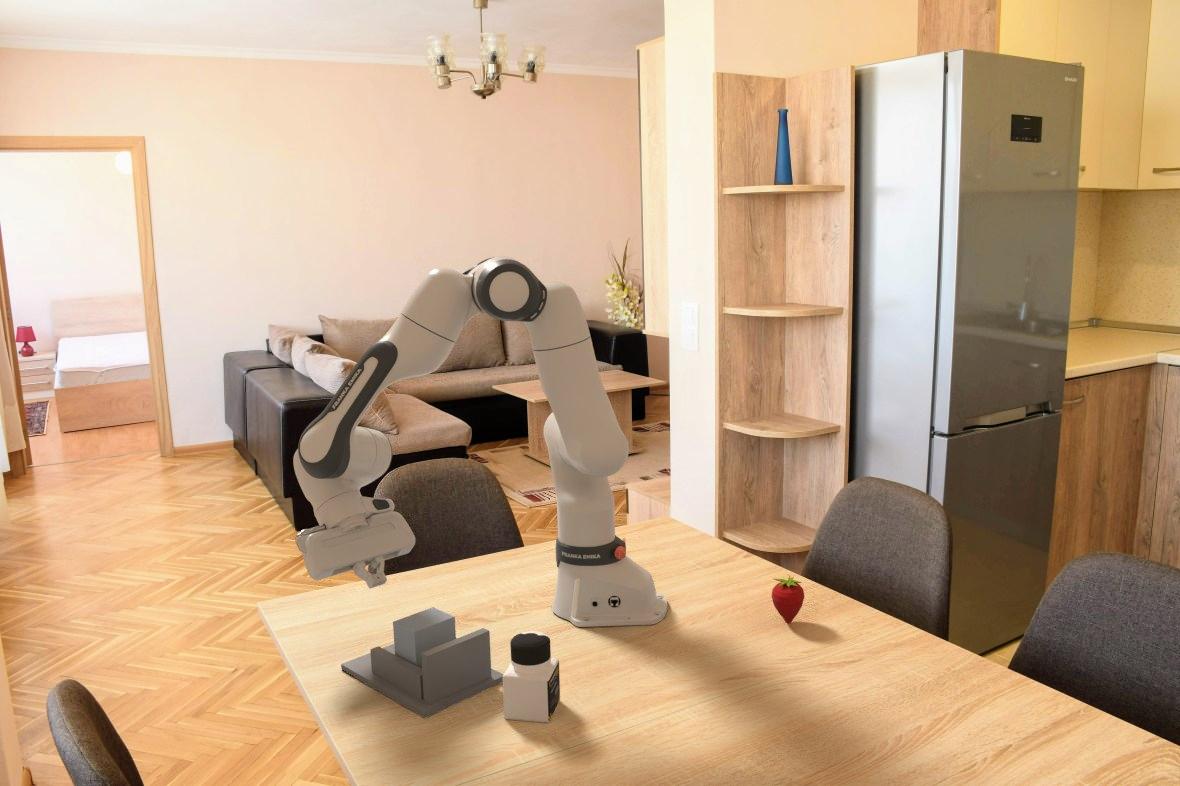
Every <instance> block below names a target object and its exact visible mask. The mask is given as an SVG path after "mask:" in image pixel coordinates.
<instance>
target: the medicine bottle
mask: <svg viewBox="0 0 1180 786" xmlns="http://www.w3.org/2000/svg"><path fill="white" fill-rule="evenodd" d="M509 645H510V664H509V665H508V666H507V669H506V670H505V672H504V675H503V682H502V691H503V692H502V694H503V695H502V696H503V715H504V719H505V720H509V721H512V720H513V721H520V722H522V721H524V722H535V723H543V724H544V723H545V724H546V723H547V724H548V723H550V722H551V721H552V718H553V716H554V714H555V712H556V710H557V707H558V706H559V703H560V701H561V685H560V660H559V659H558V658H557V657H556V658H555V657H552V656H551V655H552V653H551V639H550V637H549V636H548V635H547V634H546V633H544V632H541V631H535V630H533V631H532V630H530V631H529V630H528V631H523V632H520V633H518V634H516V635H514V636H513V637H512V638H511V640H510V643H509Z"/></svg>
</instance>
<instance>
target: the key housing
mask: <svg viewBox="0 0 1180 786" xmlns="http://www.w3.org/2000/svg"><path fill="white" fill-rule="evenodd" d="M490 634H491V633H490V630H489V629H488V628H487V629H486V628H484V627H482V628H480V629H477V630H475V631H471V632H470V633H467V634H465V635H462V636H460V637H456V639H455V640H452V641H450V642H447V643H445V644H442V645H440V646H437V647H435V648H432V649H430V650H427V651H425V652H422V653H421V658H422V669H421V668H419V667H417V666H415V665H414V664H412V663H410V662H408V661H406V660H404V659H402V658H400V657H398V656H396V655H395V647H394V643H392V644H389V645H387V646H385V647H381V646H375V647H373V648H371V649H370V652H368V653H366V654H364V655H361V656H359V657H356V658H354V659H351V660H348V661H345V662H343V663H341V665H340V666H341V669H342V670H341V671H343V670H344V671H343V672H345V671H346V672H347V673H346V672H345V673H346V674H348V673H349V674H348V675H350V674H351V675H350V676H352V675H353V676H354V677H353V676H352V677H353V678H355V677H356V678H355V679H357V678H358V679H359V680H358V679H357V680H358V681H361V682H362V683H363V684H365V683H366V684H365V685H367V686H368V687H371V688H373V689H374V690H375V691H377V690H378V691H377V692H379V693H380V694H383V695H384V696H385V697H387V698H389V699H391V700H393V701H394V702H396V703H398V704H400V705H402V706H403V707H405V708H407V709H408V710H409V711H411V712H414V713H415V714H417V715H419V716H420V717H422V718H423V719H426V718H429V717H431V716H433V715H435V714H438V713H439V712H441V711H444V710H446V709H448V708H450V707H452V706H454V705H456V704H460V703H461V702H463V701H465V700H467V699H469V698H471V697H473V696H476V695H478V694H480V693H482V692H484V691H487V690H489V689H490V688H491V689H492V688H493V687H496V686H497V685H500V684H503V675H504V674H503V673H502V672H499V671H498V670H495V669H493V668H492V658H491V656H492V653H491V638H490V636H491V635H490Z"/></svg>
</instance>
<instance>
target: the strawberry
mask: <svg viewBox="0 0 1180 786" xmlns="http://www.w3.org/2000/svg"><path fill="white" fill-rule="evenodd" d="M788 576H789V577H788V578H787V579H784V578H773V580H775V581H778V583H776V584H775V585H774V586H773V588H772V590H771V600H772V603H773V606H774V608H775V610H776V611H777V612H778V614H779V615H780V616H781V618H782V619H783V620H784V622H785V623H787V624H790V623H792V622H793V621H794V619H795V618H796V616H797V615H798V614H799V612H800V611H801V608H802V607H803V603H804V602H805V601H804V600H805V591H804V589H803V587H802V586H801V584H802V583H803V582H802V581H798V580H795V578H794V577H791V575H788Z"/></svg>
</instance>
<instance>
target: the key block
mask: <svg viewBox="0 0 1180 786" xmlns="http://www.w3.org/2000/svg"><path fill="white" fill-rule="evenodd" d="M392 627H393V644H394V647H395V655H396V656H398V657H400V658H402V659H404V660H406V661H408V662H410V663H412V664H414V665H415V666H417V667H419V668H421V669H422V658H421V653H422V652H425V651H427V650H430V649H432V648H435V647H437V646H440V645H442V644H445V643H447V642H450V641H452V640H455V639H456V638H457V636H456V635H457V633H456V617H455V616H454V615H452V614H449V613H448V612H445V611H443V610H441V609H438V608H436V607H434V606H432V607H430V608H427V609H425V610H422V611H419V612H417V613H414V614H411V615H409V616H405V617H402V618H400V619H397V620H395V621H392Z"/></svg>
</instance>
